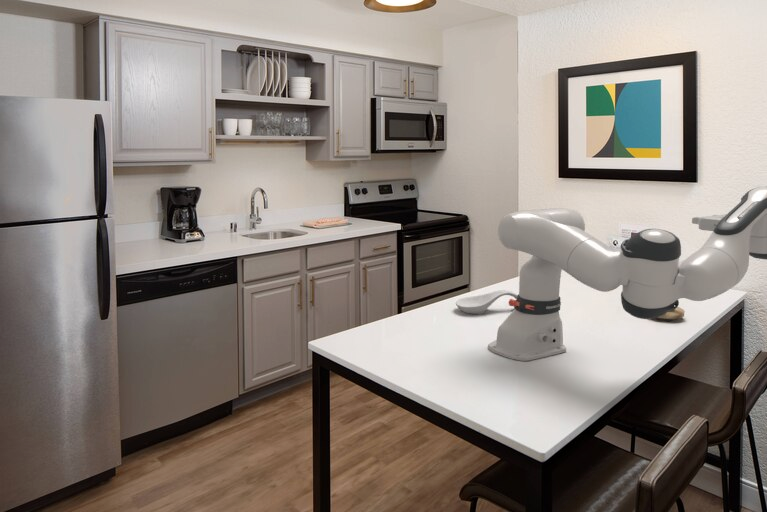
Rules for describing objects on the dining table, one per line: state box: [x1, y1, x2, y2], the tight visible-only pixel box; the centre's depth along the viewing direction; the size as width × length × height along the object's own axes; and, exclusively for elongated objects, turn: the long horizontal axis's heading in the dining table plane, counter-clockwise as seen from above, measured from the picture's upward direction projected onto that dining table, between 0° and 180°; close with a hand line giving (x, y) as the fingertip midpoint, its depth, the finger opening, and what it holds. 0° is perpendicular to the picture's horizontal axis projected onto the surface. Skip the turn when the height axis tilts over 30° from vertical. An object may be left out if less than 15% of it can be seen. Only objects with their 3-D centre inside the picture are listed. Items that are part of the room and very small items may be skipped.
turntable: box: [657, 306, 686, 320], centre depth 182 cm, size 12×12×2 cm
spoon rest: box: [455, 289, 518, 315], centre depth 192 cm, size 24×12×7 cm, turn 95°
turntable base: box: [654, 318, 675, 321], centre depth 182 cm, size 7×7×1 cm
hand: (703, 219), depth 164 cm, fingers open, 8 cm apart
